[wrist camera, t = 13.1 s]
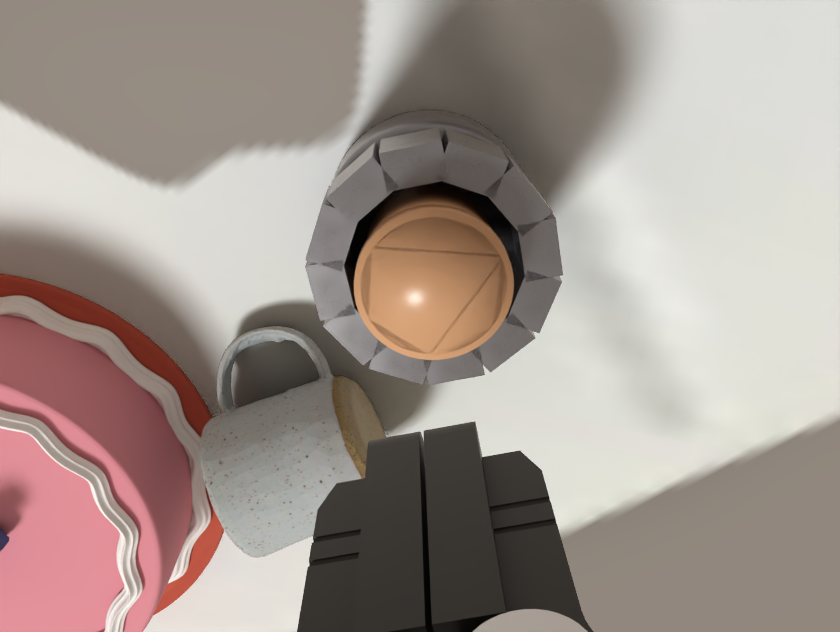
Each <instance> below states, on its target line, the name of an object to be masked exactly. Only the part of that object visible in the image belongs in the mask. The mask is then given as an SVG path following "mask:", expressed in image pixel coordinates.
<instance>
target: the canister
mask: <svg viewBox="0 0 840 632" xmlns="http://www.w3.org/2000/svg"><path fill="white" fill-rule="evenodd" d="M420 185H441V186H446V187H450V188H453V189H455V190H457V191H460V192H461V193H463V194H465V195H467V196H468V197H469V198H470V199H472V200H473V201H474V202H475V203H476V204H477V205H478V206H479V207H480V209H481V210H482V211H483V213H484V215H485V216H486V218H487V220H488V223H489V225H490V227H491V228H492V229H493V230H494V232H495V233H496V234H497V236H498V237H499V238H500V240H501V242H502V243H503V245H504V247H505V249H506V252H507V254H508V257H509V260H510V262H511V266H512V270H513V277H514V291H513V297H512V303H511V305H510V308H509V311H508V313H507V315H506V317H505V319H504V321H503V323H502V324H501V326H500V327H499V328H498V330H497V331H496V332H495V333H494V334H493V335H492V336H491V337H490V338H489V339H488V340H487V341H486V342H484V343H483V344H482V345H480V346H479V347H477V348H476V349H474V350H472V351H470V352H468V353H465V354H463V355H460V356H457V357H453V358H449V359H441V360H424V359H417V358H412V357H408V356H406V355H403V354H400V353H398V352H396V351H394V350H392V349H390V348H389V347H387V346H386V345H384V344H383V343H381V342H380V341H379V340H378V339H377V338H376V337H375V336H374V335H373V334H372V333H371V332H370V330H369V329H368V328H367V326H366V325H365V323H364V322H363V320H362V318H361V316H360V314H359V312H358V308H357V305H356V302H355V296H354V277H355V270H356V265H357V261H358V257H359V254H360V252H361V250H362V247H363V246H364V244H365V242H366V240H367V234H368V230H369V227H370V224H371V222H372V219H373V218H374V216H375V214H376V213H377V211H378V210H379V209H380V207H381V206H382V205H383V204H384V203H385V202H386V201H387V200H388V199H390V198H391V197H392V196H394V195H395V194H397V193H399V192H401V191H403V190H405V189H408V188H411V187H415V186H420ZM306 260H307V263H306V266H305V267H306V271H307V275H308V278H309V282H310V286H311V289H312V293H313V297H314V301H315V304H316V308H317V312H318V315H319V319H320V321H323V320H325V321H324V325H323V327H324V328H325V329H326V330H327V331H328V332H329V333H330V334H331V335H332V336H333V337H334V338H335V339H336V340H337V341H338V342H339V343H340V344H341V345H343V346H344V347H345V348H346V349H347V350H348V351H349V352H350V353H351V354H352V355H353V356H354V357H355V358H356V359H357V360H358V361H359V362H360V363H361V364H362V365H365V364H366V363H367V362H368V361H369V369H371V370H374V371H377V372H381V373H384V374H387V375H391V376H394V377H398V378H401V379H404V380H408V381H411V382H415V383H418V384H421V385H423V382H424V380H425V377H426V375H427V379H428V383H429V385H433V384H438V383H444V382H449V381H454V380H460V379H465V378H471V377H476V376H482V375H485V374H484V369H483V365H484V366H485V367H486V368H487V369H488V370H489V371H490V372H492V371H493V370H494V369H496V368H497V367H498V366H500V365H501V364H502V363H503V362H505V361H506V360H507V359H509V358H510V357H511V356H513V355H514V354H515V353H517V352H518V351H519V350H520V349H522V348H523V347H524V346H526V345H527V344H528V343H530V342H531V341H532V340H534V339H535V336H534V333H533V331H534V332H537V333H540V331H541V328H542V326H543V324H544V321H545V319H546V317H547V315H548V312H549V310H550V308H551V305H552V303H553V301H554V299H555V296H556V294H557V292H558V289H559V287H560V285H561V283H562V280H561V279H560V277H559V276H561V275H563V272H562V264H561V256H560V249H559V241H558V234H557V226H556V218H555V217H554V215H553V214H552V210H551V209H550V207H549V206H548V204H547V203H546V201H545V200H544V198H543V197H542V195H541V194H540V192H539V191H538V190H537V189H536V187H535V186H534V185H533V184H532V183H531V181H530V180H529V179H528V178H527V177H526V175H525V174H524V172H523V170H522V169H521V167H520V166H519V164H518V163H517V161H516V160H515V158H514V157H513V155H512V154H511V152H510V151H509V150H508V148H507V147H506V145H505V144H504V143H503V142H502V141H501V140H500V139H499V138H498V137H497V136H496V135H495V134H493V133H492V132H491V131H490V130H488V129H487V128H486V127H484V126H483V125H481V124H479V123H478V122H476V121H474V120H472V119H469V118H467V117H465V116H462V115H459V114H455V113H451V112H446V111H439V110H419V111H412V112H407V113H403V114H399V115H396V116H393V117H391V118H389V119H386V120H384V121H382V122H380V123H379V124H377V125H375V126H374V127H372V128H371V129H369V130H368V131H367V132H366V133H364V134H363V135H362V136H361V137H360V138H359V139H358V140H357V141H356V142H355V143H354V144H353V145H352V146H351V148H350V149H349V150H348V152H347V153H346V154H345V156H344V157H343V159H342V161H341V163H340V165H339V167H338V169H337V172H336V174H335V177H334V179H333V181H332V183H331V186H329V188H328V190H327V193H326V195H325V198H324V201H323V203H322V206H321V210H320V213H319V216H318V220H317V223H316V226H315V230H314V233H313V236H312V240H311V243H310V246H309V250H308V253H307V256H306Z"/></svg>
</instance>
